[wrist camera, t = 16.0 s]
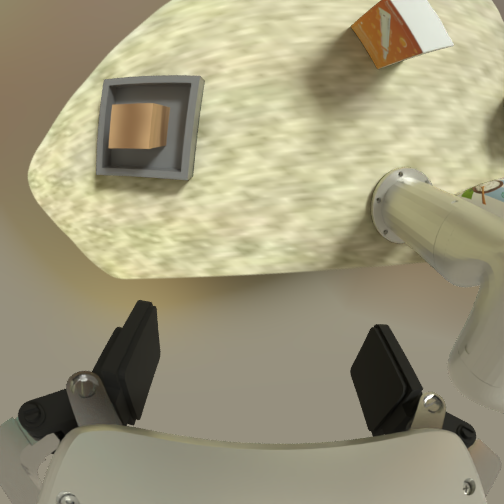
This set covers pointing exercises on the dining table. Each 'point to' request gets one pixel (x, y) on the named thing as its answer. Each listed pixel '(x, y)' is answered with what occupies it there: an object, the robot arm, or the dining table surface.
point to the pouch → (487, 196)
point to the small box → (400, 31)
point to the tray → (178, 135)
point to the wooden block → (138, 125)
